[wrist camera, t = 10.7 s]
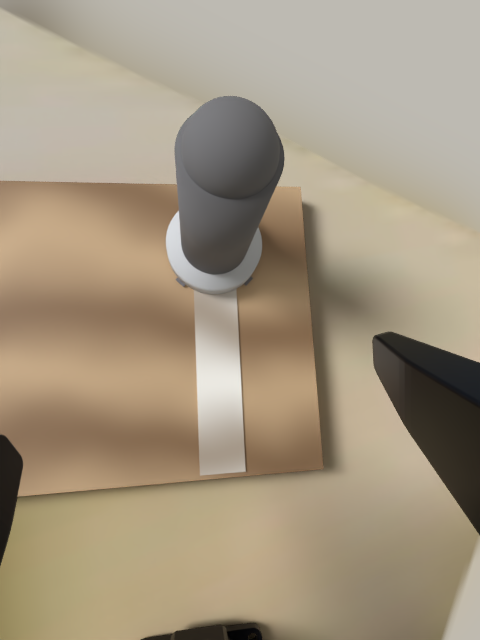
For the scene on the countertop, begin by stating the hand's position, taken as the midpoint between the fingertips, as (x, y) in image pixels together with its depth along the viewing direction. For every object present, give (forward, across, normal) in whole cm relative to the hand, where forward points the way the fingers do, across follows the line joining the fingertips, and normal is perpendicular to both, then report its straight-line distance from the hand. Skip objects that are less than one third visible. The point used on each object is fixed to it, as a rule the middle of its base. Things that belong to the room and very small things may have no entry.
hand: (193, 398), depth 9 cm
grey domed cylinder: (+14, -1, +1) cm, 14 cm away
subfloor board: (+12, +6, +4) cm, 14 cm away
